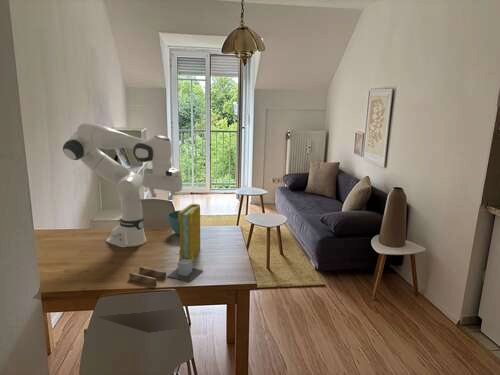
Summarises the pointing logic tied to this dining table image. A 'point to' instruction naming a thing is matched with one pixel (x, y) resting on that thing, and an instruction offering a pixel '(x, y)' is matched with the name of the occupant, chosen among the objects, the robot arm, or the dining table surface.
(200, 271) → the mat
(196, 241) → the book
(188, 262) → the blank
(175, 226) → the plant pot
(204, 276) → the dining table surface
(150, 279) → the shelf slot
